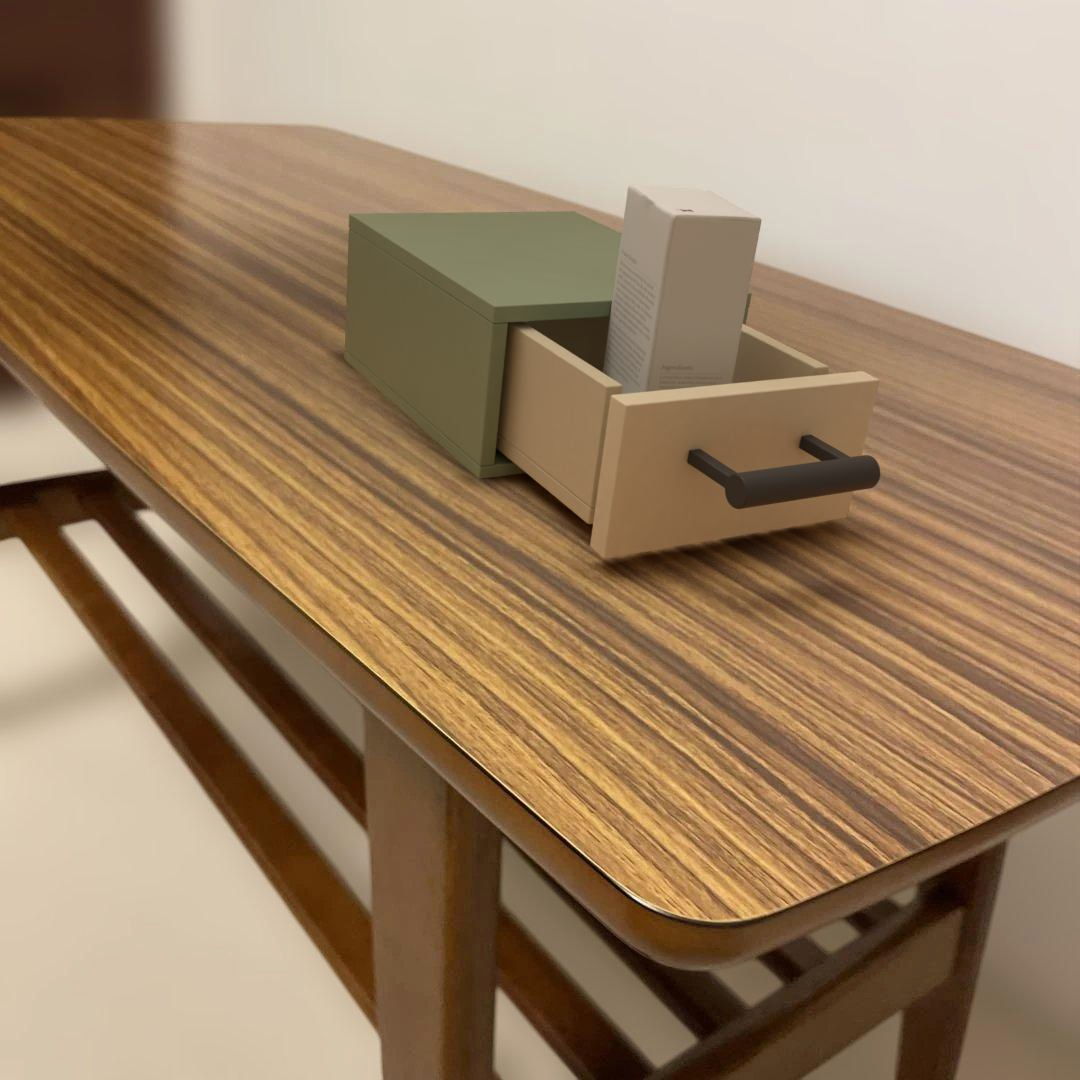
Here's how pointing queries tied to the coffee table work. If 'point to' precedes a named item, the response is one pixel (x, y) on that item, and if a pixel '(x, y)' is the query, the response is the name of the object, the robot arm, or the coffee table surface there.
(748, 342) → the drawer
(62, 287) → the coffee table surface
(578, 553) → the coffee table surface
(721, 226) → the cosmetic box
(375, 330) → the cabinet
